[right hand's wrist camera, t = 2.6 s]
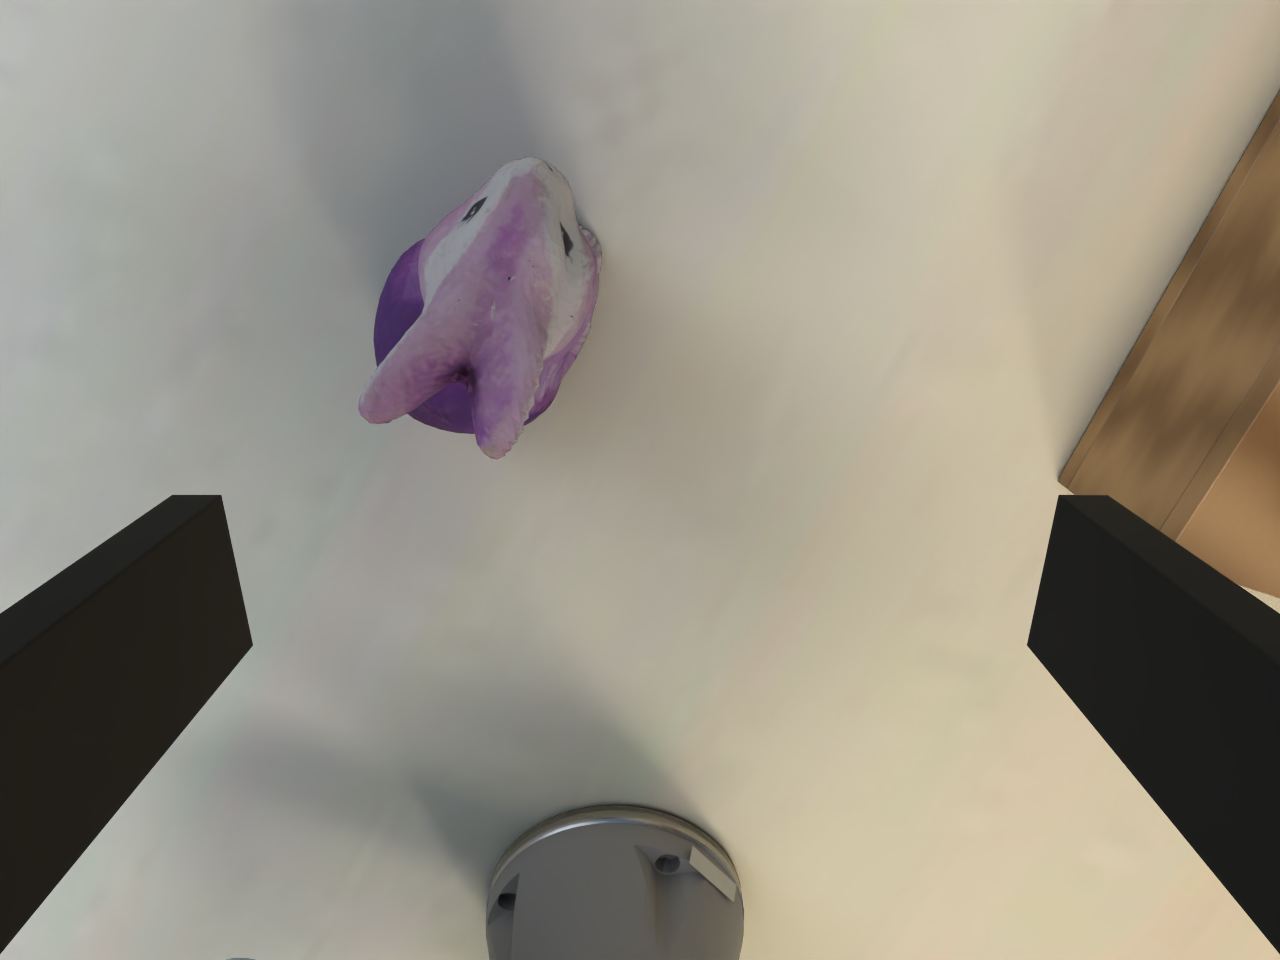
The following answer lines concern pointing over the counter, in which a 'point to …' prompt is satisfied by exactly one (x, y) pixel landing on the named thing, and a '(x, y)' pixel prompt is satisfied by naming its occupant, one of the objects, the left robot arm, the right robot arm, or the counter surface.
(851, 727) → the counter surface
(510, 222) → the figurine
